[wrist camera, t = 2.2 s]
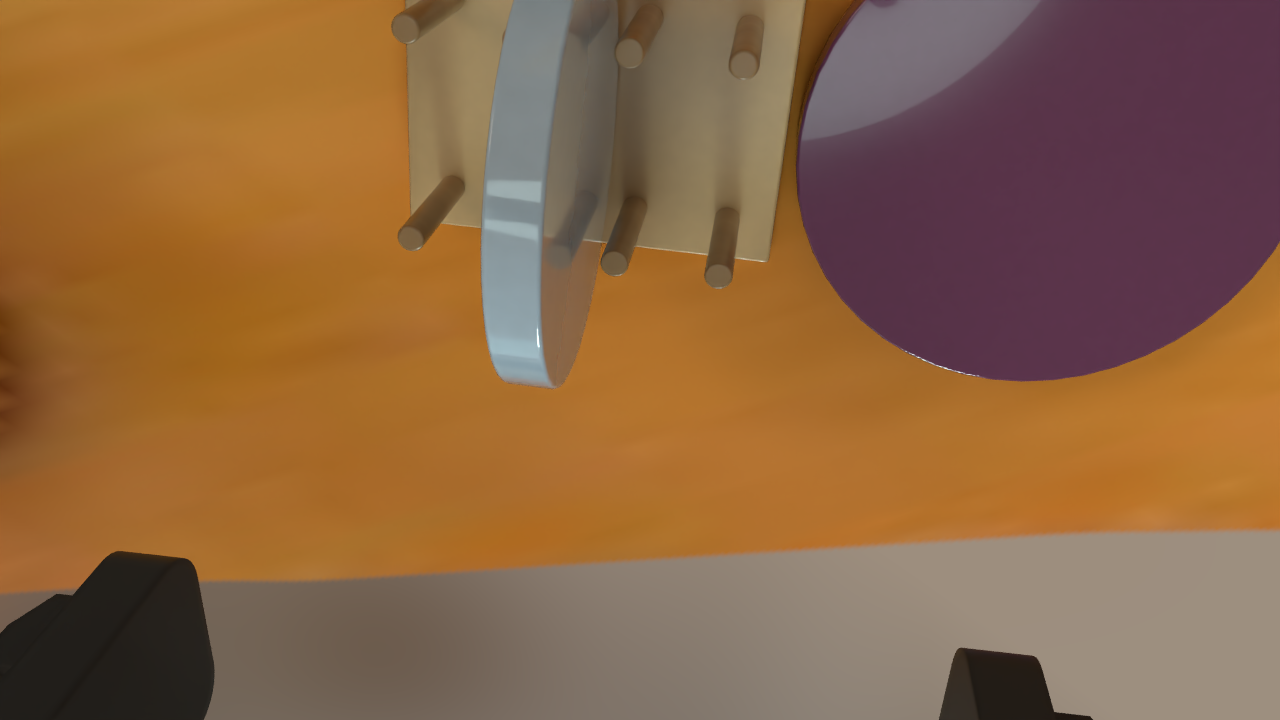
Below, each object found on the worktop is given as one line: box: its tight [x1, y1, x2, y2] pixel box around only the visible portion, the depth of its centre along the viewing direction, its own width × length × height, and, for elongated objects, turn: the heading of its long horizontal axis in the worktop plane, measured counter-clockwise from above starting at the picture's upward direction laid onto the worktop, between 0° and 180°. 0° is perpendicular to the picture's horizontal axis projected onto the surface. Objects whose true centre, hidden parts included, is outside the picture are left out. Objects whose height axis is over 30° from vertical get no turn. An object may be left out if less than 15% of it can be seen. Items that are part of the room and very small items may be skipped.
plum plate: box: [796, 0, 1280, 381], centre depth 29 cm, size 13×13×1 cm
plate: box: [481, 0, 618, 389], centre depth 26 cm, size 1×10×10 cm, turn 176°
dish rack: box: [391, 0, 806, 289], centre depth 29 cm, size 10×8×5 cm
